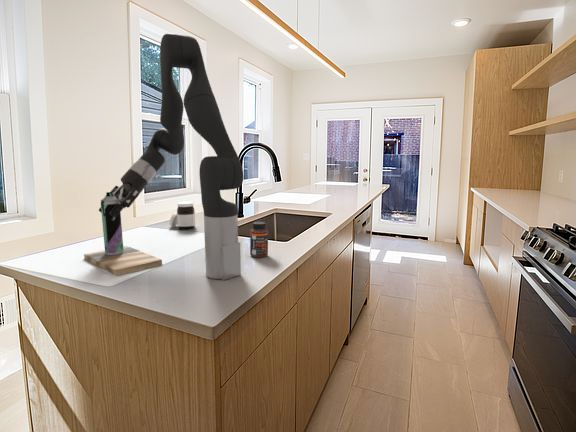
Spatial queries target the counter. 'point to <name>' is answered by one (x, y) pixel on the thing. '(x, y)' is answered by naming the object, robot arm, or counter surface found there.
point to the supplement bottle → (259, 240)
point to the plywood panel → (123, 260)
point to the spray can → (111, 226)
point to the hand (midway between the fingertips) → (106, 213)
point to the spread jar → (184, 216)
